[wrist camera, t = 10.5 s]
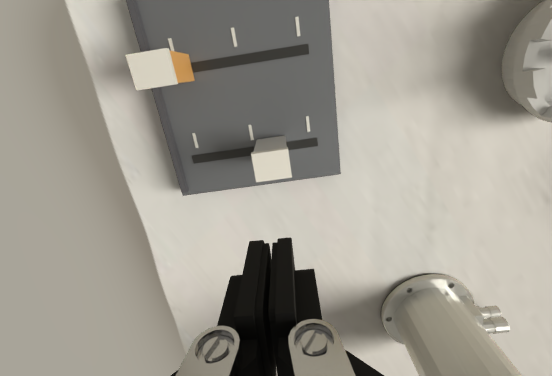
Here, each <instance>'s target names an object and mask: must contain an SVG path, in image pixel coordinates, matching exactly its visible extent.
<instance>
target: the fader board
mask: <svg viewBox="0 0 552 376" xmlns="http://www.w3.org/2000/svg"><path fill="white" fill-rule="evenodd" d="M126 2H127V5H128V9H129V12H130V16H131V19H132V23H133V26H134V29H135V33H136V36H137V40H138V43H139V47H140V50H141V52H145V51H151V50H157V49H163V48H169V50H170V51H175V52H180V53H185V54H189V58H190V62H191V67H192V71H193V75H194V79H195V81H191V82H185V83H178V84H175V85H169V86H163V87H156V88H152V92H153V95H154V98H155V102H156V105H157V109H158V112H159V116H160V119H161V123H162V126H163V130H164V133H165V136H166V140H167V143H168V147H169V150H170V154H171V157H172V161H173V164H174V167H175V171H176V174H177V178H178V181H179V185H180V188H181V192H182V194H183V196H184V195H191V194H199V193H206V192H213V191H221V190H228V189H235V188H243V187H250V186H257V185H265V184H272V183H279V182H287V181H294V180H301V179H308V178H316V177H323V176H330V175H338V174H341V172H340V157H339V143H338V128H337V113H336V99H335V84H334V70H333V55H332V40H331V26H330V11H329V0H126ZM278 136H285V137H286V145H287V147H288V151H289V159H290V166H291V174H292V178H285V179H278V180H271V181H263V182H256V179H255V173H254V168H253V162H252V157H251V153H252V152H253V151H254V148H255V145H256V141H257V139H264V138H271V137H278Z"/></svg>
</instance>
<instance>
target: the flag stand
mask: <svg viewBox="0 0 552 376" xmlns="http://www.w3.org/2000/svg"><path fill="white" fill-rule="evenodd" d="M501 69H502V80H503V83H504V86H505V89H506V90H507V92H508V94H509V95H510V97H512V98H513V99H514V100H515V101H516V102H517V103H519V104H521V105H523V107H524V108H525V109H526V110H528V111H529V112H530V113H531V114H532V115H534V116H535V117H537V118H539V119H541V120H544V121H548V122H552V0H544V1H543V2H541V3H539V4H538V5H537V6H536V7H535V8H533V9H532V10H531V11H530V12H529V13H528V14H527V15H526V16H525V17H524V18H523V19H522V20H521V21H520V22H519V24H518V25H517V27H516V28H515V30H514V31H513V33H512V34H511V37H510V39H509V41H508V43H507V45H506V48H505V51H504V55H503V59H502V68H501Z"/></svg>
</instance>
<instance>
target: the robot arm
mask: <svg viewBox="0 0 552 376" xmlns="http://www.w3.org/2000/svg"><path fill="white" fill-rule="evenodd" d="M488 317H489V318H488ZM493 317H494V318H493ZM381 318H382V323H383V325H384V327H385V330H386V331H387V333H388V334H389V335H390V336H391V337H392V338H393V339H394V340H396V341H397V342H399V343H401V344H404V345H405V346H406V349H407V351H408V353H409V355H410V357H411V359H412V361H413V364H414V366H415V368H416V370H417V372H418V374H419V376H522V375H521V374H520V372H519V371H518V370H517V369H516V367H515V366H514V365H513V364H512V362H511V361H510V360H509V359H508V357H507V356H506V355H505V354H504V352H503V351H502V350H501V349H500V347H499V346H498V345H497V344H496V342H495V341H494V340H493V339H492V338H491V336H490V335H489V334H488V333H493V334H496V333H505V332H509V330H510V329H509V325H508V322H507V321H506V319H504V318H503V317H501V311H500V309H499V308H498V307H497V306H489V307H484V308H479V307H478V306H475V305H474V300H473V297H472V295H471V293H470V292H469V290H468V289H467V288H466V287H465V286H464V285H463V284H462V283H461V282H460V281H458V280H457V279H455V278H452V277H450V276H446V275H440V274H429V275H422V276H418V277H414V278H412V279H410V280H407V281H405V282H404V283H402V284H400V285H399V286H397V287H396V288H395V289H394V290H393V291H392V292H391V293H390V294H389V295H388V297H387V298H386V300H385V302H384V303H383V307H382V310H381ZM484 318H487V319H484ZM276 367H277V373H278V376H384V375H382V374H381V373H379V372H378V371H376V370H375V369H373V368H372V367H370V366H369V365H367V364H366V363H364V362H363V361H361V360H360V359H358V358H357V357H355V356H354V355H352V354H351V353H349V352H348V351H346V350H345V349H344V346H343V344H342V341H341V339H340V336H339V334H338V332H337V331H336V329H335V328H334V327H333V326H332V325H331V324H330V323H328V322H325V321H323V320H322V316H321V310H320V303H319V297H318V291H317V285H316V279H315V272H314V269H307V270H295V265H294V256H293V248H292V239H291V238H281V239H278V242H277V243H273V246H272V260H271V253H270V246H269V243H266V244H264V241H263V240H259V241H250V242H249V246H248V251H247V256H246V260H245V265H244V270H243V275H236V276H231V277H230V280H229V284H228V288H227V291H226V295H225V299H224V302H223V306H222V310H221V314H220V317H219V321H218V325H217V326H215V327H212V328H209V329H207V330H205V331H204V332H202V333H201V334H200V335H199V336H198V337H196V339H195V340H194V342H193V343H192V345H191V347H190V349H189V351H188V353H187V354H186V356H185V359H184V360H183V362H182V364H181V366H180V368H179V370H178V371H176V372H175V373H174V374H172V375H171V376H276Z"/></svg>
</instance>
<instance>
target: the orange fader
mask: <svg viewBox="0 0 552 376" xmlns="http://www.w3.org/2000/svg"><path fill="white" fill-rule="evenodd" d="M125 56H126V59H127V62H128V65H129V69H130V72H131V75H132V78H133V82H134V85H135V88H136V91H137V90H144V89H150V88H156V87H163V86H169V85H175V84H178V83H185V82H191V81H195V79H194V75H193V71H192V67H191V62H190V58H189V54H185V53H180V52H175V51H170V50H169V48H163V49H157V50H151V51H145V52H139V53H133V54H127V55H125Z"/></svg>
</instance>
